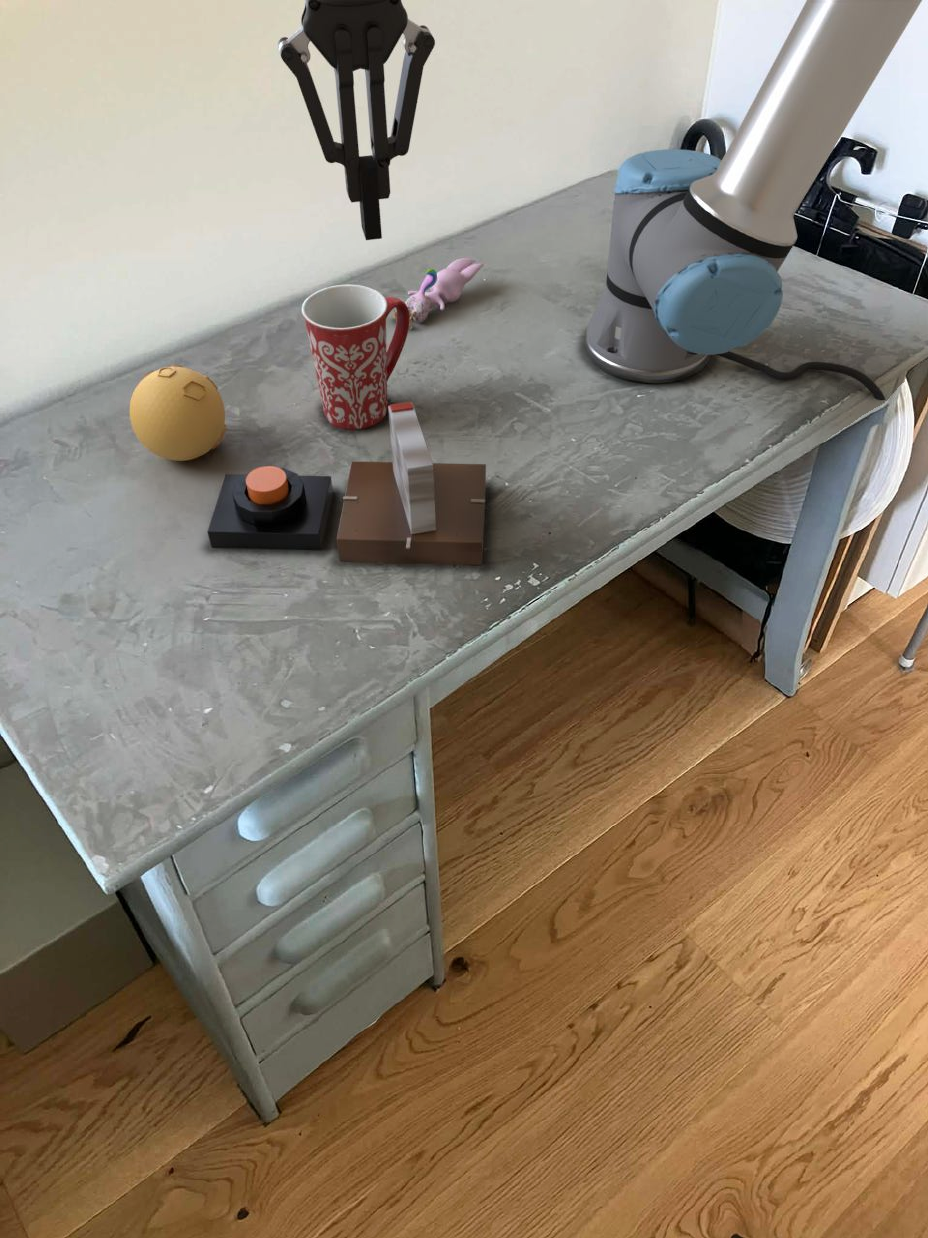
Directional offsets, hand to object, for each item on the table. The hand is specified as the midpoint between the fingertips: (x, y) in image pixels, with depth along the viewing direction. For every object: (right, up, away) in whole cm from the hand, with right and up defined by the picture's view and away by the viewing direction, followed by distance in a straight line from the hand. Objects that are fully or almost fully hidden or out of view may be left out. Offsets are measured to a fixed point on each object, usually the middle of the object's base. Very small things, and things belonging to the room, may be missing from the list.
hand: (371, 232), depth 95 cm
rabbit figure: (+6, +5, +38) cm, 39 cm away
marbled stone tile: (+4, -24, +7) cm, 25 cm away
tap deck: (+4, -26, +9) cm, 28 cm away
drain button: (-11, -23, +7) cm, 27 cm away
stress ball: (-22, -18, +17) cm, 33 cm away
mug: (-2, -12, +23) cm, 26 cm away
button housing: (-11, -26, +9) cm, 30 cm away
